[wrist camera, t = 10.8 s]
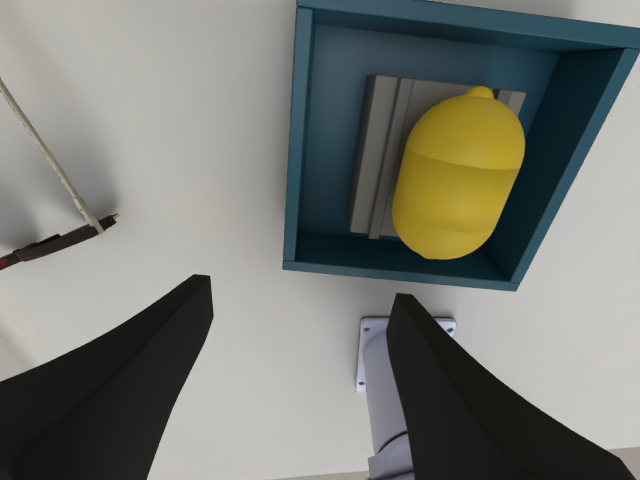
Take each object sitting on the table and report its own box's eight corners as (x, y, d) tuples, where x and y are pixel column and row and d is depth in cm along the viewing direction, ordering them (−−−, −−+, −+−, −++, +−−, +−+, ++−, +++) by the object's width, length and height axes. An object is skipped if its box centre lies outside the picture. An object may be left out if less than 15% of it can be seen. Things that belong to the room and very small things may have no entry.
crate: (482, 253, 23) (516, 292, 18) (290, 234, 22) (282, 270, 18) (571, 41, 16) (652, 29, 12) (304, 7, 16) (297, -17, 12)
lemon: (446, 237, 18) (496, 285, 14) (371, 234, 17) (400, 284, 13) (497, 89, 14) (585, 96, 10) (403, 78, 13) (458, 80, 9)
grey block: (447, 219, 21) (473, 249, 17) (346, 209, 20) (350, 237, 17) (490, 89, 17) (536, 92, 13) (366, 74, 17) (378, 74, 13)
